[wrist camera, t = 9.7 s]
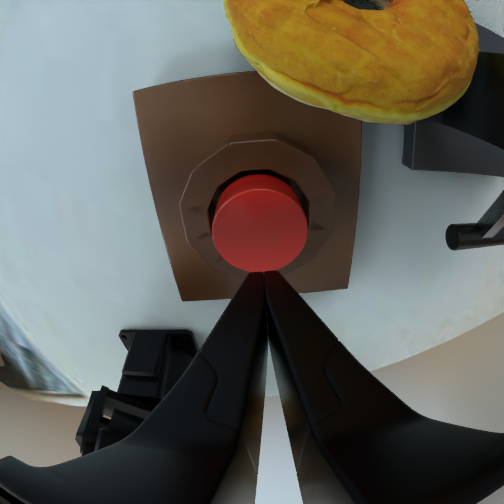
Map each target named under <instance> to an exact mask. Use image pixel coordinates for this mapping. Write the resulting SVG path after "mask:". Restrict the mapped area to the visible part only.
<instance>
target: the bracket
mask: <svg viewBox="0 0 504 504" xmlns="http://www.w3.org/2000/svg"><path fill="white" fill-rule="evenodd" d="M475 25H476V28H477V31H478V37H479V43H478V44H479V49H480V50H481V51H479V54H478V58H477V62H478V63H477V64H476V68H475V71H474V73H473V76H472V79H471V83H470V85H469V86H468V88H467V90H466V92H465V93H464V94H463V95H462V97H460V98H459V99H458V100H457V101H456V102H455V103H454V104H452V105H451V106H449V107H448V108H447V109H445V110H443V111H441V112H439V113H437V114H435V115H432V116H430V117H428V118H425V119H422V120H418V121H415V122H413V123H411V124H408V125H405V131H404V147H403V160H402V163H403V164H404V165H405V166H407V167H408V168H410V169H411V170H429V171H446V172H460V173H471V174H482V175H491V176H499V177H504V38H503V37H501V36H499V35H497V34H496V33H494V32H492V31H490V30H488V29H486V28H484V27H482V26H480V25H478V24H476V23H475Z"/></svg>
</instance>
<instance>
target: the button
mask: <svg viewBox="0 0 504 504" xmlns="http://www.w3.org/2000/svg"><path fill="white" fill-rule="evenodd" d="M307 236H308V224H307V219H306V216H305V214H304V211H303V209H302V206H301V204H300V201H299V199H298V197H297V195H296V193H295V192H294V190H293V189H292V188H291V187H290V186H289V185H288V184H287V183H286V182H284V181H283V180H281V179H279V178H277V177H274V176H270V175H265V174H253V175H248V176H244V177H242V178H239V179H237V180H236V181H234V182H232V183H231V184H230V185H229V186H228V187H227V188H226V189H225V190H224V191H223V192H222V194H221V196H220V198H219V200H218V203H217V207H216V211H215V215H214V220H213V224H212V238H213V242H214V245H215V247H216V249H217V251H218V252H219V254H220V255H221V256H222V258H224V259H225V260H226V261H227V262H228V263H229V264H231V265H233V266H234V267H236V268H239V269H241V270H244V271H248V272H259V271H262V272H265V271H271V270H277V269H280V268H282V267H284V266H286V265H287V264H289V263H290V262H292V261H293V260H294V259H295V258H296V257H297V256H298V255H299V254H300V252H301V251H302V249H303V247H304V245H305V243H306V240H307Z"/></svg>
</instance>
